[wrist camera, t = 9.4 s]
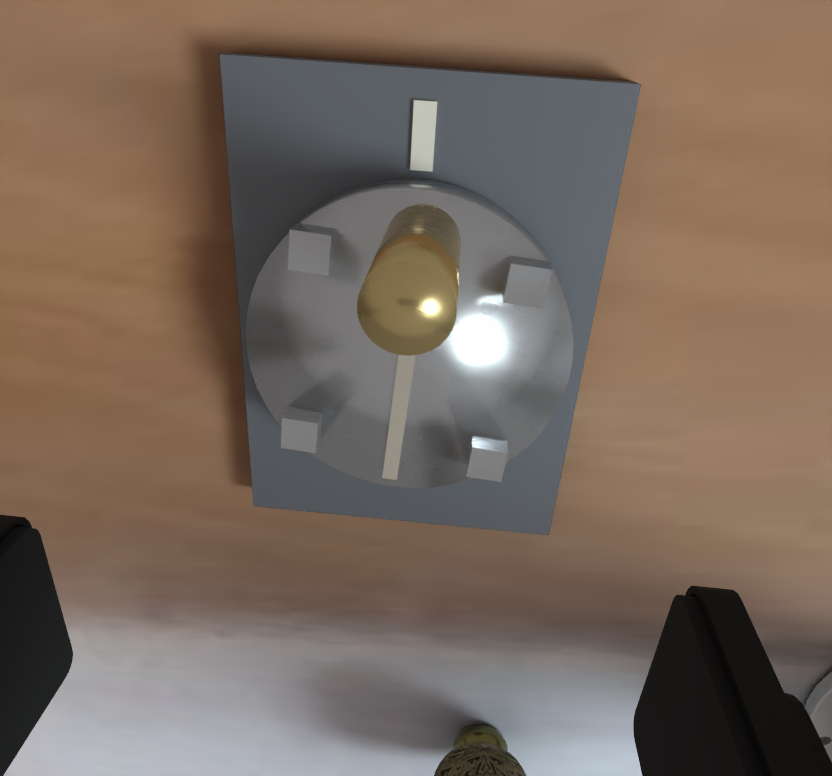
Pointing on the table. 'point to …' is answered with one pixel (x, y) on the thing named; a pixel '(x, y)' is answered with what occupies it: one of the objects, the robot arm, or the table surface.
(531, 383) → the disc with brass post
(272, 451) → the base plate
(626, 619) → the table surface
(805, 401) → the table surface
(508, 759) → the cup
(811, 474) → the table surface
